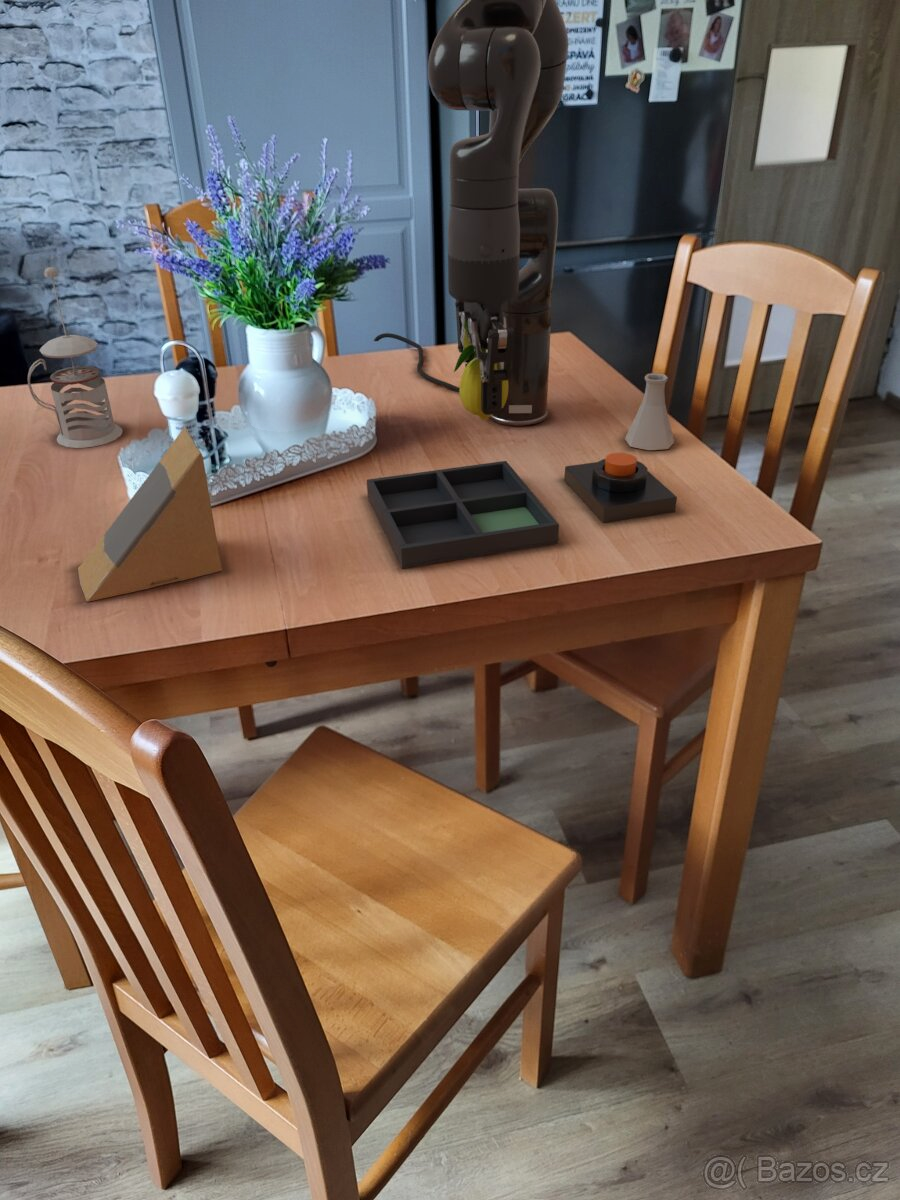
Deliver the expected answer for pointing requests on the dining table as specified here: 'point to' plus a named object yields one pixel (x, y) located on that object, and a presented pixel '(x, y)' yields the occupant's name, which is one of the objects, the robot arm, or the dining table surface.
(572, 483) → the control box
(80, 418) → the french press
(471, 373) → the lemon
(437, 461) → the dining table surface
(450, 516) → the tray
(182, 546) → the sandwich container
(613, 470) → the button
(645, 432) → the flask
